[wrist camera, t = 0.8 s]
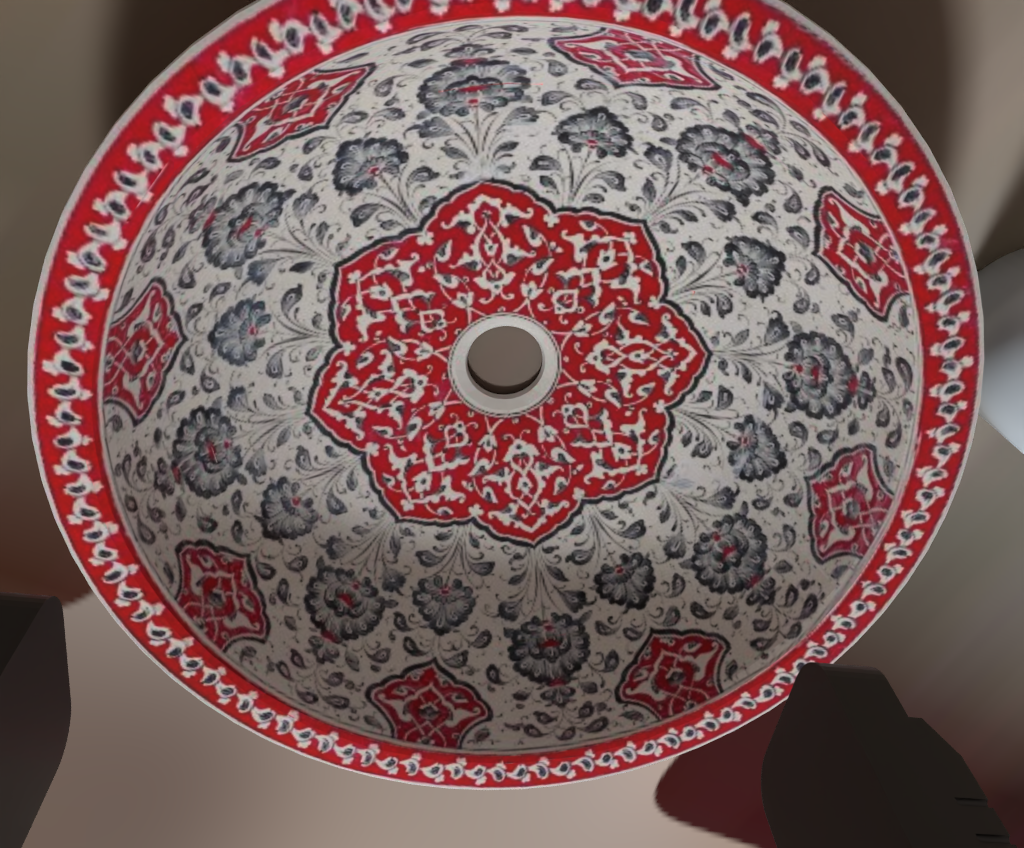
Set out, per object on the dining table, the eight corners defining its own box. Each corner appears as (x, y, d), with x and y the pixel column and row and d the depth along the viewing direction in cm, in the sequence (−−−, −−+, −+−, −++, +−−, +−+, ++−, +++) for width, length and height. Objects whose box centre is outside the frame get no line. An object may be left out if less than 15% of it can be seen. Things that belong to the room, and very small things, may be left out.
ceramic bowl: (949, -73, 30) (1106, -78, 23) (819, 633, 43) (893, 768, 36) (21, -64, 28) (-118, -65, 21) (186, 667, 42) (134, 816, 35)
